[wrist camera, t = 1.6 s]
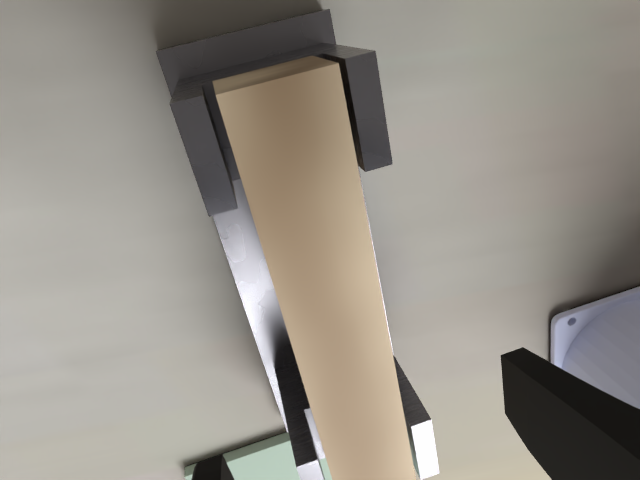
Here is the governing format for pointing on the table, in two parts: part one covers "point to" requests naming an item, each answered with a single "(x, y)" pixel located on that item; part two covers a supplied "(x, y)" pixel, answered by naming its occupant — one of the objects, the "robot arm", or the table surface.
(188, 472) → the green mat
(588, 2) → the table surface
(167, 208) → the table surface
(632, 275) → the table surface
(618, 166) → the table surface
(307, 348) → the beech rail
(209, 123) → the grey u-shaped holder
